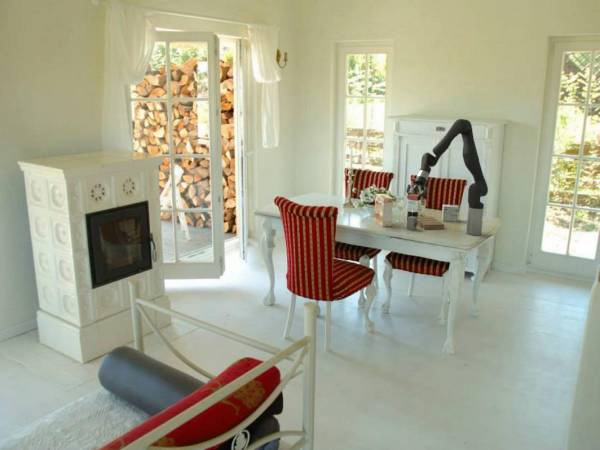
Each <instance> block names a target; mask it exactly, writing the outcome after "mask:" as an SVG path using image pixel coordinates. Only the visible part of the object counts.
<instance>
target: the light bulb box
mask: <svg viewBox="0 0 600 450" xmlns="http://www.w3.org/2000/svg"><path fill="white" fill-rule="evenodd" d="M459 209H460V207H459V205H457V204H442V210H441V221H442V222H454V223H455V222H456V223H457V222H459Z"/></svg>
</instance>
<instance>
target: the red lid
mask: <svg viewBox="0 0 600 450" xmlns="http://www.w3.org/2000/svg"><path fill="white" fill-rule="evenodd" d="M419 194H420V193H419ZM419 194H418V193H417V194H416V193H412V194H409V195H408V194H407V195H408V198H407V200H408V201H415V202H418V196H419Z"/></svg>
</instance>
